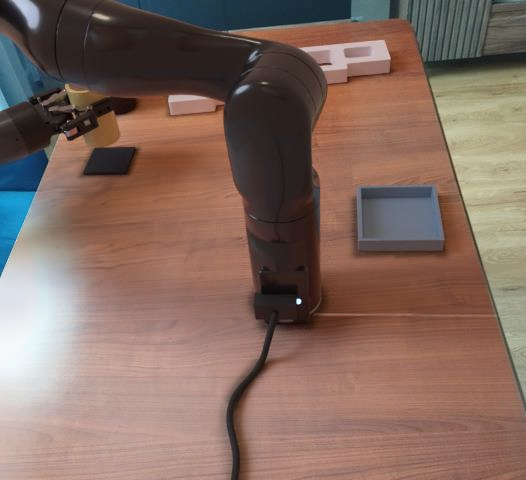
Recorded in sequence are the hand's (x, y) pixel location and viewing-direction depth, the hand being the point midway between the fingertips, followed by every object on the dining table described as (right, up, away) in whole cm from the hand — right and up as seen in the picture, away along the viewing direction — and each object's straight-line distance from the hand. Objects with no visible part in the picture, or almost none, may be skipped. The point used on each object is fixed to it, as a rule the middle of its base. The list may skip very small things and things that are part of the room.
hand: (101, 95), depth 100 cm
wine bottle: (-2, +7, +21) cm, 22 cm away
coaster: (-1, -9, +8) cm, 12 cm away
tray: (+48, -24, -9) cm, 55 cm away
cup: (-1, -6, +5) cm, 7 cm away
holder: (+31, +12, +22) cm, 40 cm away
